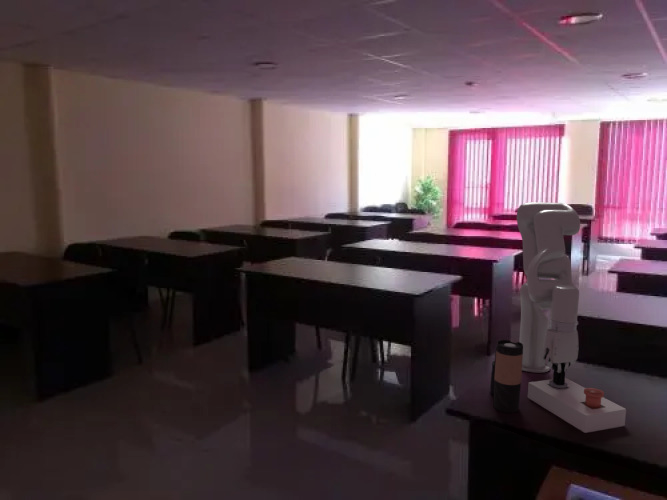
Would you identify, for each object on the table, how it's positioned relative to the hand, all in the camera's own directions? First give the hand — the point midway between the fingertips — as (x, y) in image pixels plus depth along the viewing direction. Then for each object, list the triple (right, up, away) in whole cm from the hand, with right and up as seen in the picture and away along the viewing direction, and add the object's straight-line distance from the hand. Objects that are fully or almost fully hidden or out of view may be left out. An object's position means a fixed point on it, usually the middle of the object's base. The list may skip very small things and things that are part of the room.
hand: (558, 383), depth 167 cm
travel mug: (-17, -7, -4) cm, 19 cm away
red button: (+4, -3, -13) cm, 14 cm away
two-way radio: (-17, -5, +7) cm, 19 cm away
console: (+2, -7, -5) cm, 9 cm away
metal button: (0, -4, +1) cm, 5 cm away
